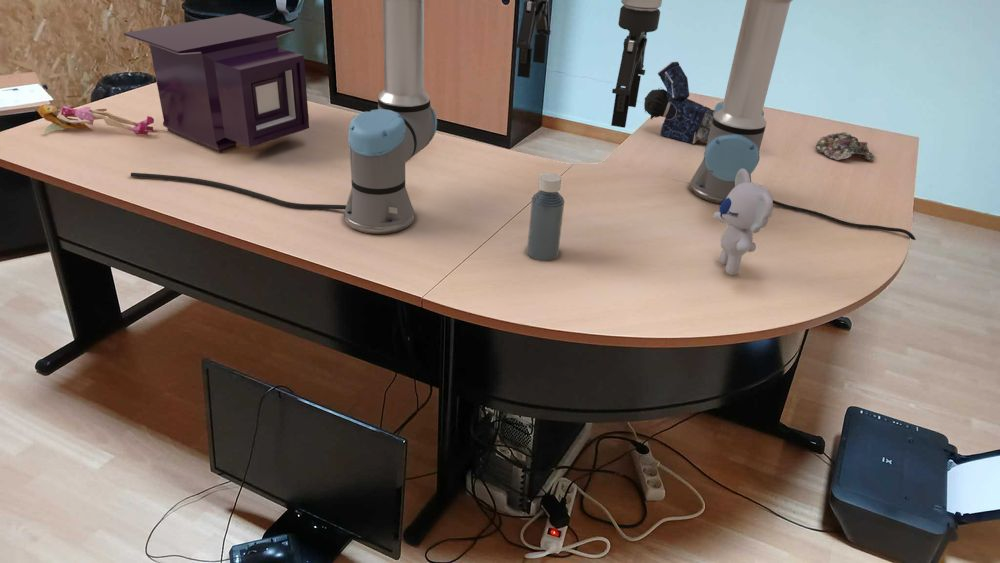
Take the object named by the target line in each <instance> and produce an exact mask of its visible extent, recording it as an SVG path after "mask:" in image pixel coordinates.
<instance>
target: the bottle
mask: <svg viewBox="0 0 1000 563" xmlns="http://www.w3.org/2000/svg"><path fill="white" fill-rule="evenodd" d="M564 209H565V199H564V197H563V196H562V195H561V193H560V192H559V191H557V192H545V191H542V190H540V189H539V190H538V191H537V192H536V193H534V194H533V195H532V197H531V203H530V212H529V222H528V223H529V224H528V234H527V246H526V254H527V255H528V256H529V257H530V258H532V259H533V260H537V261H544V262H545V261H547V262H548V261H552V260H555V259H557V258H558V256H559V252H560V242H561V235H562V226H563V220H564V219H563V217H564Z"/></svg>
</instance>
